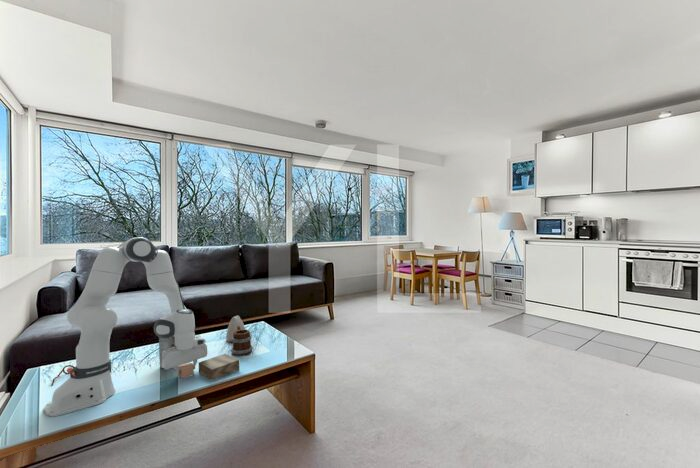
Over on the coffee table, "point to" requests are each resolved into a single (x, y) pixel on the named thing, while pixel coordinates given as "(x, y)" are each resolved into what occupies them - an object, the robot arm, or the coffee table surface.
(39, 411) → the coffee table surface
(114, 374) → the coffee table surface
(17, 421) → the coffee table surface
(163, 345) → the coffee box
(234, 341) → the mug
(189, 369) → the cube
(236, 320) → the sculpture
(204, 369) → the block
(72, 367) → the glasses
